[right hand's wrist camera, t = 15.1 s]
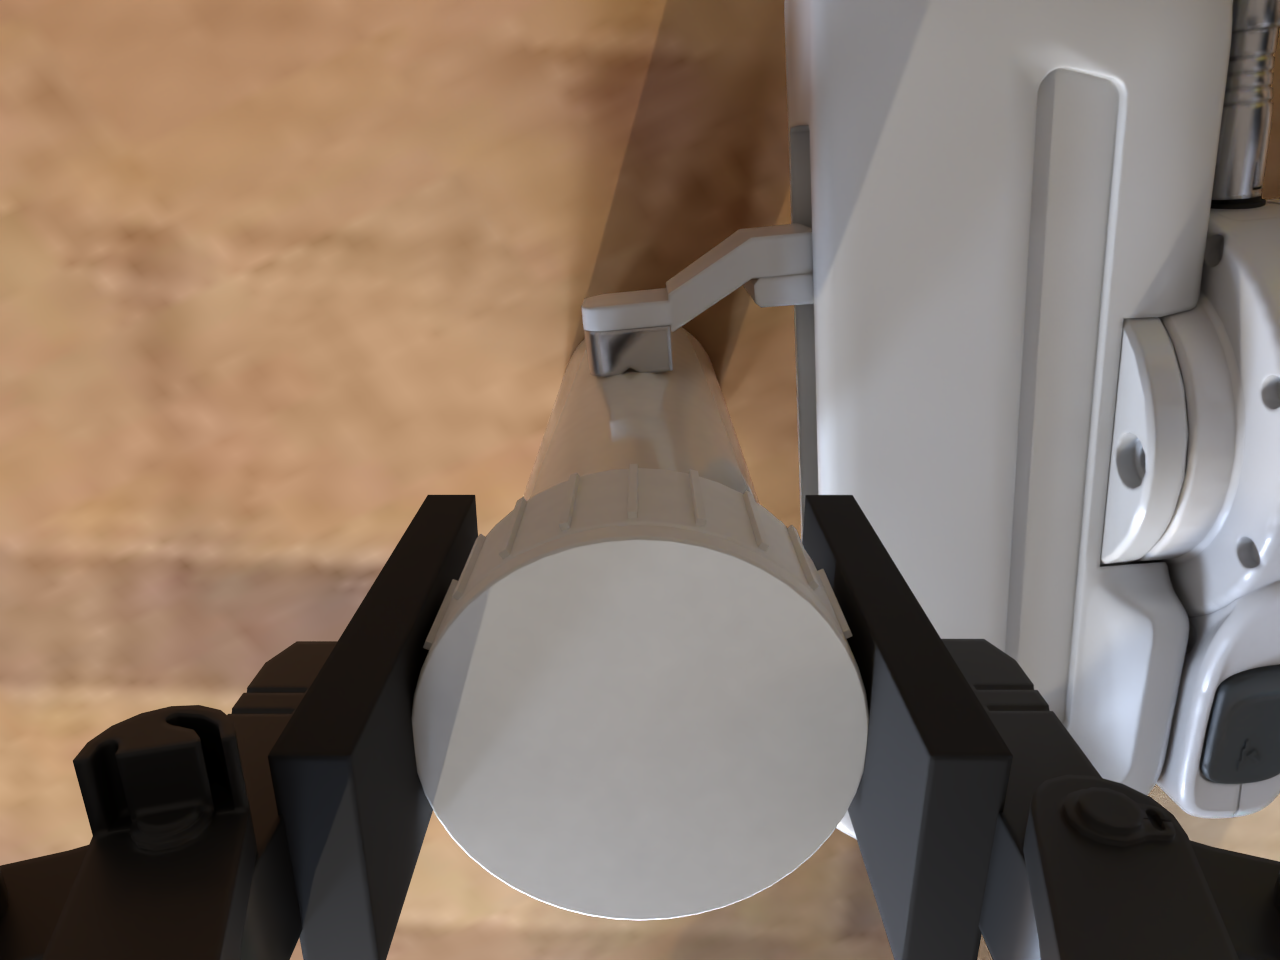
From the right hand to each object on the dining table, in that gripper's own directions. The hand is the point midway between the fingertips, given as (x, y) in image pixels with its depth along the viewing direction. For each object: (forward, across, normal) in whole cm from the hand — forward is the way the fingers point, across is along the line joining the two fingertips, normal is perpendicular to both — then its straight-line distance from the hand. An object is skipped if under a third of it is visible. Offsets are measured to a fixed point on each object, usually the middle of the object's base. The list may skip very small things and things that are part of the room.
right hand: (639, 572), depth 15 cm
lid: (-4, 0, 0) cm, 4 cm away
